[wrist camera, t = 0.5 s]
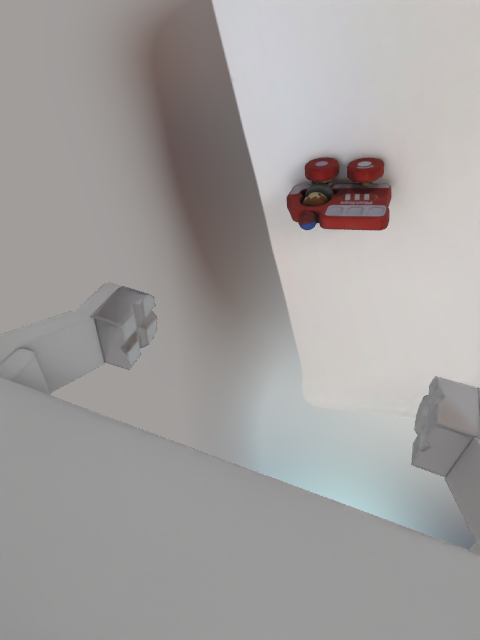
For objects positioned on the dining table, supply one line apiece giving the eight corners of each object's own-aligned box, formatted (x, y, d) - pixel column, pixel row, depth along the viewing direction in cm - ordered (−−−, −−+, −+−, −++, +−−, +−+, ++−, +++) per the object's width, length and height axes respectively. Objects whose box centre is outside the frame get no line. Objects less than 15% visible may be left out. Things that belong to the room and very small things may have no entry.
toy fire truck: (295, 157, 55) (269, 191, 48) (399, 155, 51) (389, 192, 43) (298, 209, 59) (275, 247, 52) (394, 211, 55) (385, 253, 47)
